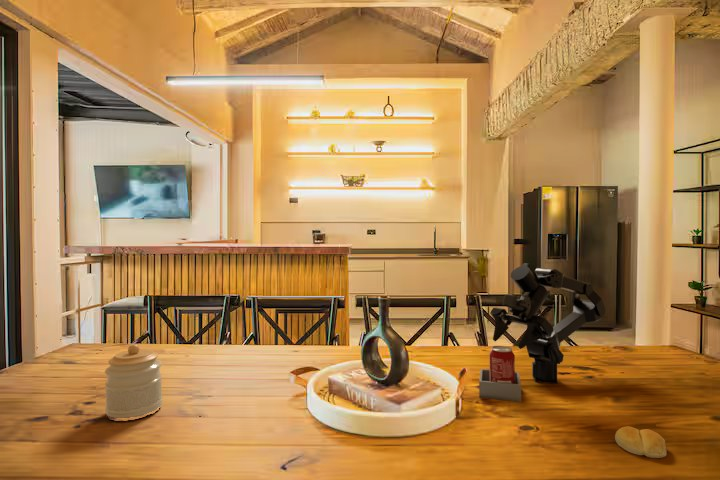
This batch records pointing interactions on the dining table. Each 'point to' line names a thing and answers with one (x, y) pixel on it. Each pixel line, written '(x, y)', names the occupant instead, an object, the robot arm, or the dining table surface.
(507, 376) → the soda can
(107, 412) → the jar
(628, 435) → the bread roll
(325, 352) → the dining table surface
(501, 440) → the dining table surface
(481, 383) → the grey crate
